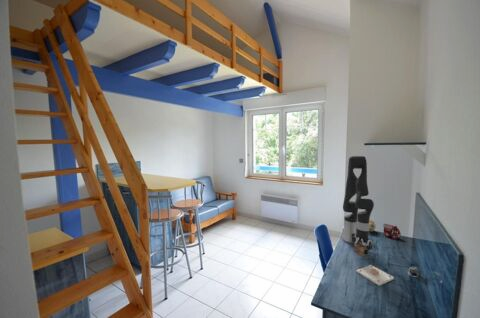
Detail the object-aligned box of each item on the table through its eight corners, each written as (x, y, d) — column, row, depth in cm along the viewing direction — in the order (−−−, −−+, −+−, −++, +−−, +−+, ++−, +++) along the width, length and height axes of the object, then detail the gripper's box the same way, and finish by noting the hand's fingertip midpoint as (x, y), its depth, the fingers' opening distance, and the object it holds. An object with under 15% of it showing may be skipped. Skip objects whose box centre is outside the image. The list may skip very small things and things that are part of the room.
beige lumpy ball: (361, 231, 193) (362, 220, 192) (363, 227, 202) (364, 216, 201) (374, 234, 187) (375, 222, 186) (375, 230, 196) (376, 219, 195)
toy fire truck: (399, 240, 176) (400, 228, 175) (382, 235, 184) (382, 224, 184) (400, 237, 181) (401, 226, 180) (383, 233, 189) (384, 222, 189)
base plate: (356, 271, 132) (356, 267, 132) (370, 266, 138) (371, 261, 138) (379, 285, 120) (379, 280, 120) (393, 279, 126) (394, 274, 125)
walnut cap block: (354, 251, 143) (354, 243, 142) (359, 249, 145) (360, 241, 145) (362, 256, 138) (362, 247, 137) (368, 254, 140) (368, 245, 139)
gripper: (349, 224, 144) (347, 248, 146) (369, 233, 132) (368, 258, 133) (356, 223, 148) (355, 245, 149) (377, 231, 135) (375, 256, 136)
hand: (361, 251), depth 141 cm, fingers closed on walnut cap block, 6 cm apart
